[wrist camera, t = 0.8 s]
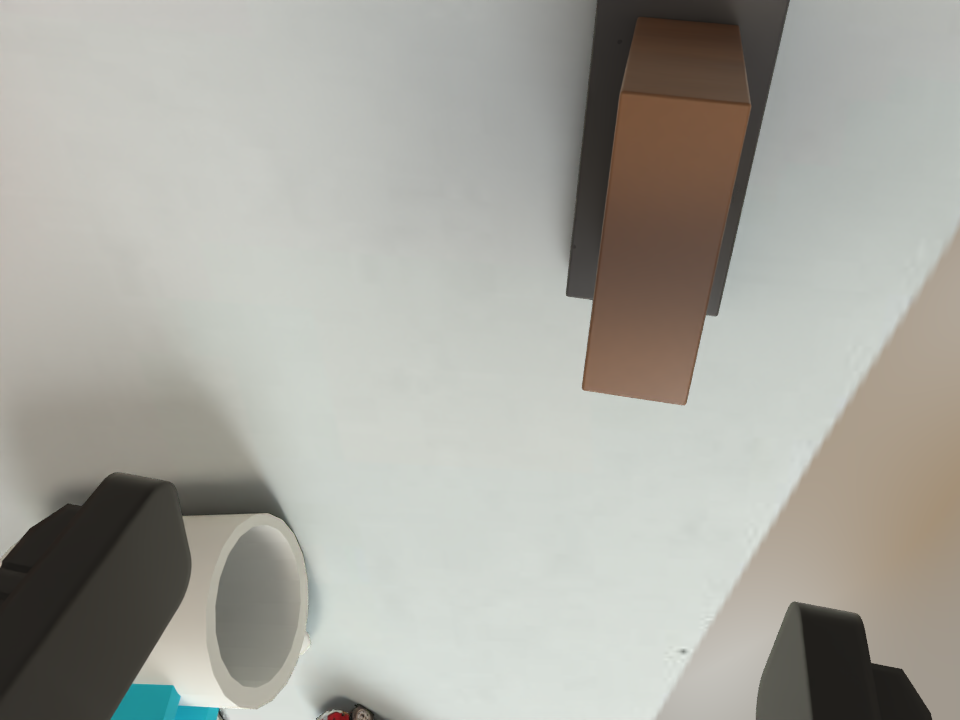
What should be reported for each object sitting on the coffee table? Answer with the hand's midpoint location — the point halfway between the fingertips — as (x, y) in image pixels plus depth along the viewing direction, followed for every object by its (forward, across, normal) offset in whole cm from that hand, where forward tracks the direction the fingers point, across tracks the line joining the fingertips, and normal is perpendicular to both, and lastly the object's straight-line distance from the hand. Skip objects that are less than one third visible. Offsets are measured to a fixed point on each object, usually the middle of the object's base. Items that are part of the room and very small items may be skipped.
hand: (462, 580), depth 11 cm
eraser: (+16, -2, 0) cm, 16 cm away
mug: (+16, +15, +22) cm, 31 cm away
